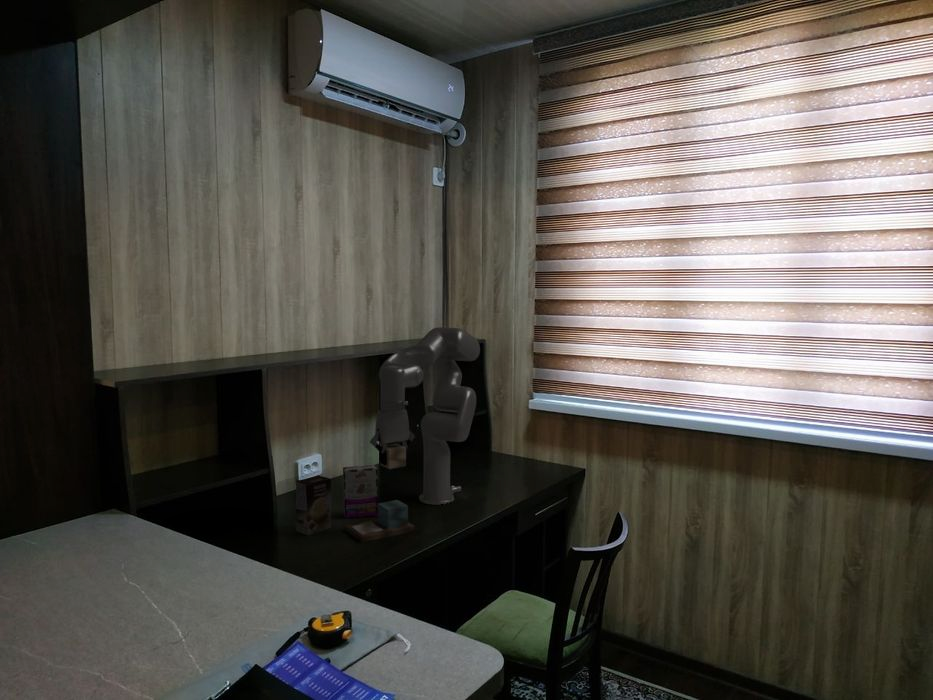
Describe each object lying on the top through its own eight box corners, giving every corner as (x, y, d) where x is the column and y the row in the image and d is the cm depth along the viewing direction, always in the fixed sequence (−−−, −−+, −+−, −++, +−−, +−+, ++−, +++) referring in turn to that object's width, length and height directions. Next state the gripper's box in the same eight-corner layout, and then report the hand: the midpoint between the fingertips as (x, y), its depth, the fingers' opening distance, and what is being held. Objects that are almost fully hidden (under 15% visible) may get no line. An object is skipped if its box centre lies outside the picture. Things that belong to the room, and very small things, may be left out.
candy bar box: (376, 511, 228) (376, 464, 227) (378, 516, 224) (378, 468, 222) (342, 514, 225) (342, 466, 224) (344, 519, 221) (343, 470, 219)
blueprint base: (396, 519, 221) (396, 497, 220) (414, 530, 211) (414, 507, 210) (345, 530, 211) (345, 507, 210) (362, 542, 201) (362, 518, 200)
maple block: (396, 461, 216) (396, 443, 215) (406, 466, 211) (406, 447, 210) (380, 464, 212) (379, 446, 212) (389, 469, 207) (388, 450, 207)
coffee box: (308, 536, 206) (307, 485, 204) (295, 531, 210) (294, 480, 208) (332, 528, 213) (331, 478, 211) (319, 523, 217) (318, 474, 215)
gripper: (410, 401, 217) (410, 456, 219) (362, 407, 208) (362, 464, 210) (422, 405, 211) (422, 461, 213) (373, 411, 202) (373, 469, 203)
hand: (392, 462), depth 211 cm, fingers closed on maple block, 6 cm apart
